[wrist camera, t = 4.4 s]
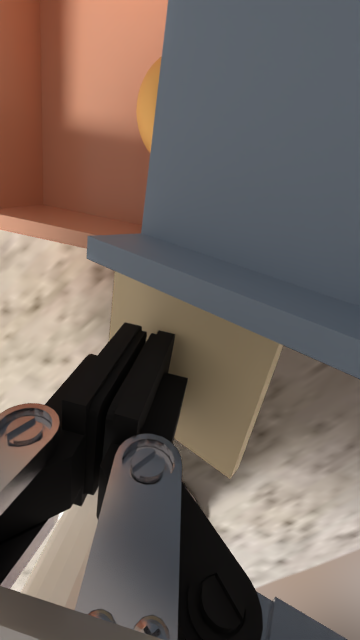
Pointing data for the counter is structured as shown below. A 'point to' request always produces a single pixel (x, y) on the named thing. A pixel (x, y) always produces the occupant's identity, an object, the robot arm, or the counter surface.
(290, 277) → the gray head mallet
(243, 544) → the counter surface
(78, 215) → the shallow terracotta crate
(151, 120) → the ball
